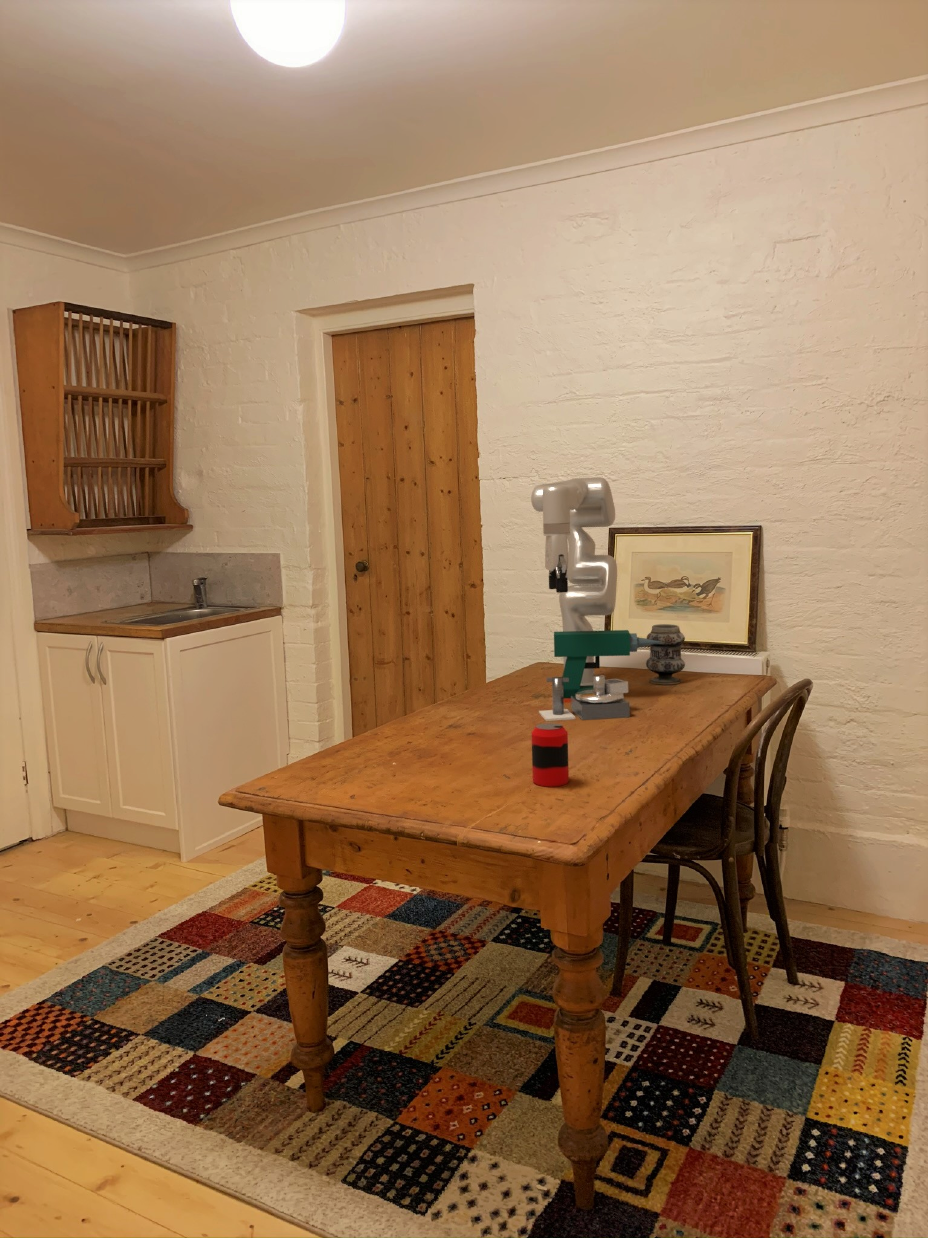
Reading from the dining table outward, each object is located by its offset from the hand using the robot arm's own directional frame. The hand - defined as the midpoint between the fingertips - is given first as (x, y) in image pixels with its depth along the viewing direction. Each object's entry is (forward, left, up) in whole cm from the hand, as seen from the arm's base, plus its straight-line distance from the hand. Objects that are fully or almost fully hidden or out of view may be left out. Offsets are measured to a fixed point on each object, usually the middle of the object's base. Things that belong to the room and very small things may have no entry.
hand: (558, 590), depth 270 cm
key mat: (+13, -4, -33) cm, 36 cm away
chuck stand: (+13, +8, -33) cm, 36 cm away
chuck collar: (+13, +8, -29) cm, 32 cm away
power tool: (-4, +15, -33) cm, 37 cm away
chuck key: (+13, -4, -33) cm, 35 cm away
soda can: (+72, -18, -33) cm, 81 cm away
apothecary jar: (-24, +39, -33) cm, 57 cm away
